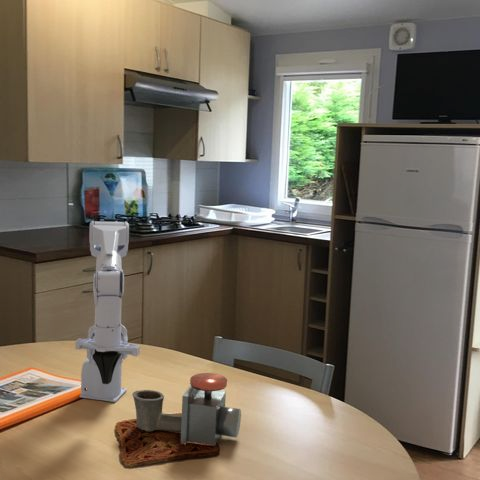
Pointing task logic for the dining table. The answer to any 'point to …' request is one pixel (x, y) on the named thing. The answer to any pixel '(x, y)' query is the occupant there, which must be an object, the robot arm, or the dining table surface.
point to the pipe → (154, 412)
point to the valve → (207, 410)
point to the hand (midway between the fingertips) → (106, 382)
